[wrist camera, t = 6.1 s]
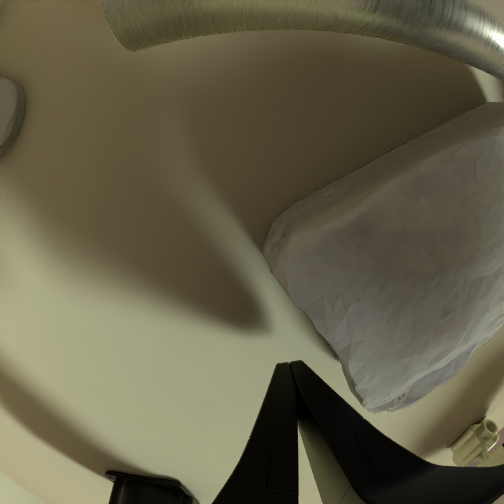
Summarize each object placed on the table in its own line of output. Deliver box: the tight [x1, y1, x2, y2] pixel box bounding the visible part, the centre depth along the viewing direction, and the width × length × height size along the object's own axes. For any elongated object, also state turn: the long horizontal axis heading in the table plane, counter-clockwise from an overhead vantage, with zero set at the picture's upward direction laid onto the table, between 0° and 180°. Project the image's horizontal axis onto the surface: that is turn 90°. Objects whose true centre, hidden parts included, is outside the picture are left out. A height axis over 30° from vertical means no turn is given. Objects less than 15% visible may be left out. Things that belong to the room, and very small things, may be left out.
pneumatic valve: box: [451, 419, 504, 467], centre depth 10 cm, size 6×12×12 cm, turn 168°
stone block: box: [262, 102, 504, 413], centre depth 8 cm, size 12×5×10 cm
